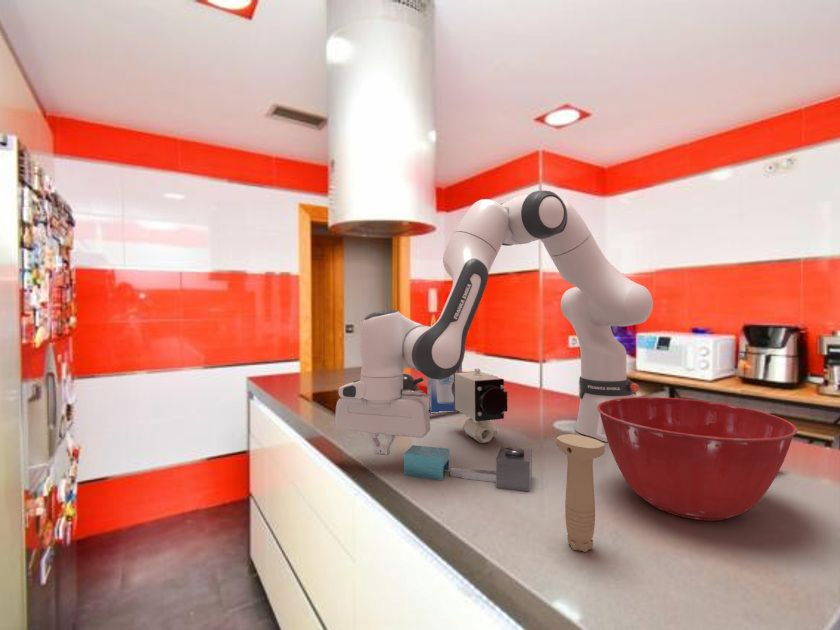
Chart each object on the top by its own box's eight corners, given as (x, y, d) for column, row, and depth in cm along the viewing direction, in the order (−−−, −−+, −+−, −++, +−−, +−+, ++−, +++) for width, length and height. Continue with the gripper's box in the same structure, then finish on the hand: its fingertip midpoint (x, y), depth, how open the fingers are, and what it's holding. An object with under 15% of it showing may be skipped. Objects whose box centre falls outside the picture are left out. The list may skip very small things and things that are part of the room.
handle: (590, 563, 58) (590, 450, 58) (550, 542, 64) (550, 438, 63) (610, 551, 61) (611, 443, 61) (571, 531, 67) (571, 432, 66)
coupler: (446, 482, 85) (446, 449, 85) (454, 468, 92) (454, 438, 92) (529, 491, 81) (529, 457, 80) (531, 477, 87) (531, 445, 87)
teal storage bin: (404, 476, 89) (403, 453, 89) (412, 466, 94) (412, 445, 94) (442, 480, 86) (442, 457, 86) (449, 470, 92) (449, 448, 91)
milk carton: (431, 413, 138) (430, 349, 137) (427, 409, 144) (426, 347, 143) (462, 411, 140) (462, 348, 139) (456, 407, 146) (456, 346, 145)
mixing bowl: (652, 460, 96) (652, 389, 95) (824, 513, 72) (826, 418, 71) (564, 492, 81) (564, 407, 80) (746, 571, 56) (747, 451, 56)
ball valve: (513, 447, 105) (513, 373, 104) (481, 452, 102) (480, 375, 102) (479, 427, 122) (478, 363, 121) (450, 431, 119) (450, 365, 119)
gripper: (434, 388, 92) (434, 454, 93) (345, 383, 99) (345, 444, 99) (425, 394, 86) (425, 464, 87) (331, 388, 93) (331, 454, 93)
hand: (382, 454), depth 93 cm, fingers closed
